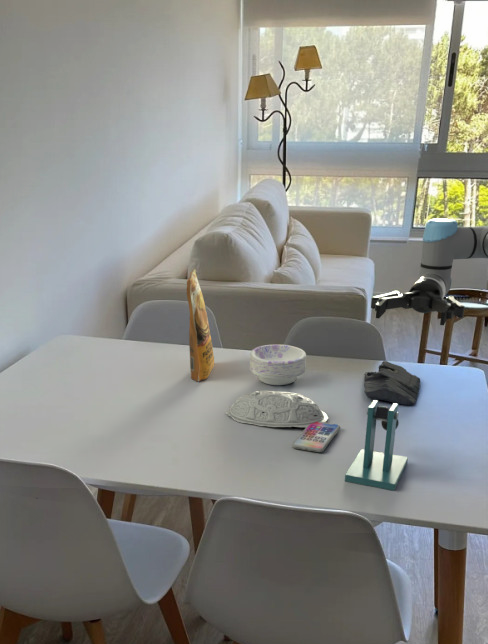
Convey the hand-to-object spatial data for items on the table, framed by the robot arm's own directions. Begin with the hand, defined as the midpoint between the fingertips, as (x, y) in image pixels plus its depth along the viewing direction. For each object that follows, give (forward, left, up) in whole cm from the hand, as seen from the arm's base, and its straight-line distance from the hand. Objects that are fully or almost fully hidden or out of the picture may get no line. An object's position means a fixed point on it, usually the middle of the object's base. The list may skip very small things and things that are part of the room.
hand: (409, 315), depth 149 cm
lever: (-5, +15, -19) cm, 25 cm away
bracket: (-6, +19, -28) cm, 34 cm away
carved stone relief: (+27, +10, -28) cm, 40 cm away
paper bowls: (+44, -10, -28) cm, 53 cm away
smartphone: (+13, +14, -28) cm, 34 cm away
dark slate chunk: (+17, -24, -28) cm, 41 cm away
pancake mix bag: (+64, 0, -28) cm, 70 cm away
